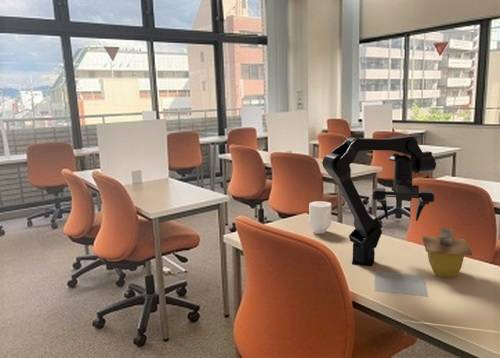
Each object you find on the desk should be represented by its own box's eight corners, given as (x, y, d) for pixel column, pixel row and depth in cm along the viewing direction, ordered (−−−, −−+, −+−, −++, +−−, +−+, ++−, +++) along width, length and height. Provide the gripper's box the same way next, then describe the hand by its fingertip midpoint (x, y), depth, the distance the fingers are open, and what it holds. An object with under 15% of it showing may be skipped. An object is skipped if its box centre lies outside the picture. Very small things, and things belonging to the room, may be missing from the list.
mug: (304, 230, 171) (305, 202, 169) (322, 228, 175) (323, 200, 173) (320, 238, 161) (321, 208, 158) (339, 235, 164) (340, 206, 162)
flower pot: (463, 281, 121) (465, 252, 119) (431, 279, 122) (433, 250, 121) (454, 269, 129) (456, 242, 127) (425, 267, 131) (426, 240, 129)
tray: (374, 291, 116) (374, 290, 116) (374, 271, 129) (374, 271, 129) (428, 297, 111) (428, 296, 111) (423, 276, 125) (423, 275, 125)
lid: (426, 251, 120) (427, 234, 119) (422, 238, 131) (423, 222, 130) (472, 255, 116) (473, 237, 115) (463, 241, 128) (465, 225, 127)
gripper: (373, 177, 130) (372, 225, 133) (437, 179, 125) (434, 229, 128) (373, 171, 141) (372, 215, 144) (433, 173, 135) (430, 219, 138)
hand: (401, 219), depth 138 cm, fingers open, 9 cm apart
